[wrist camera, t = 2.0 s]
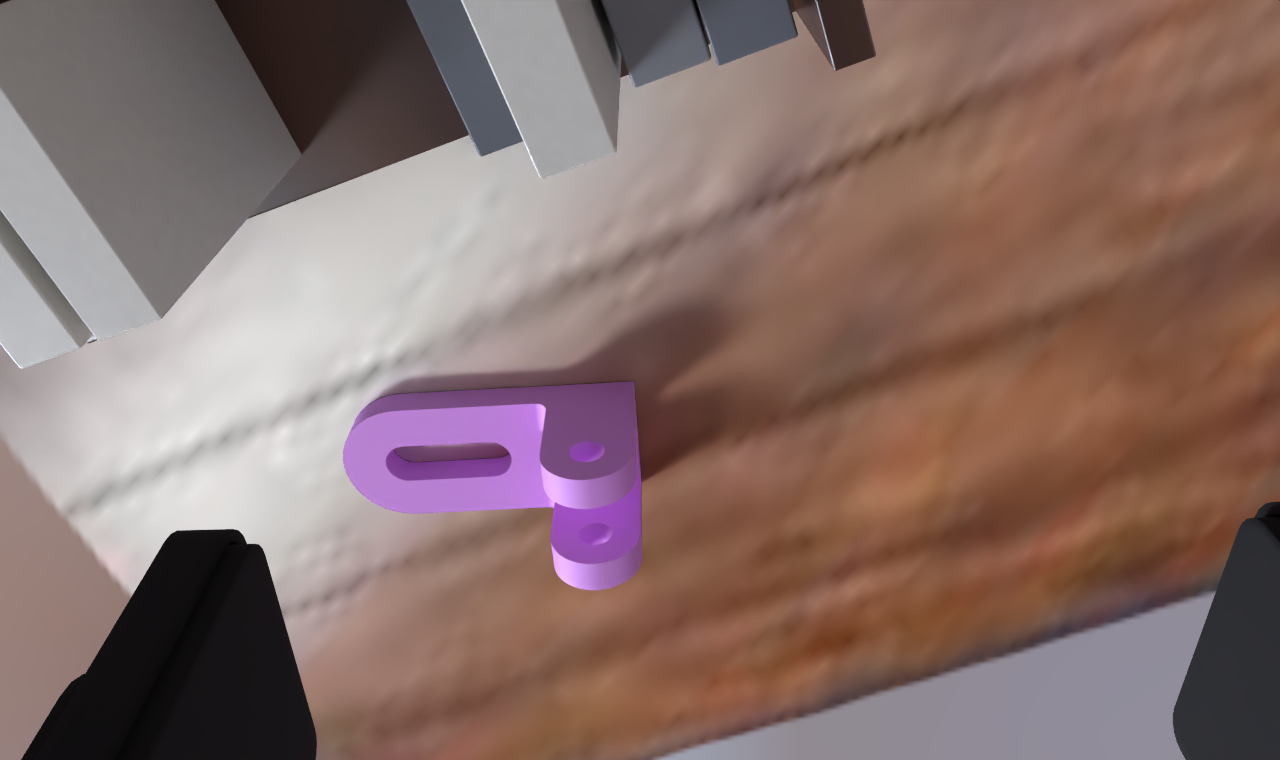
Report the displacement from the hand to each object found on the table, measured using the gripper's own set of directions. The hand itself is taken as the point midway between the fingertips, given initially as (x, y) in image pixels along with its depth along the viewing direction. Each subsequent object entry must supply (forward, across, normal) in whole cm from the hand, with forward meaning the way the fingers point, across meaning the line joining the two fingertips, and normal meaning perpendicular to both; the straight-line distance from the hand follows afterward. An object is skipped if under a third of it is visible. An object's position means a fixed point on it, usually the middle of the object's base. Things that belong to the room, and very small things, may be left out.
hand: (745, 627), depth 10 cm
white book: (+29, +4, -3) cm, 30 cm away
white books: (+29, +17, +2) cm, 34 cm away
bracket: (+31, +8, +19) cm, 37 cm away
